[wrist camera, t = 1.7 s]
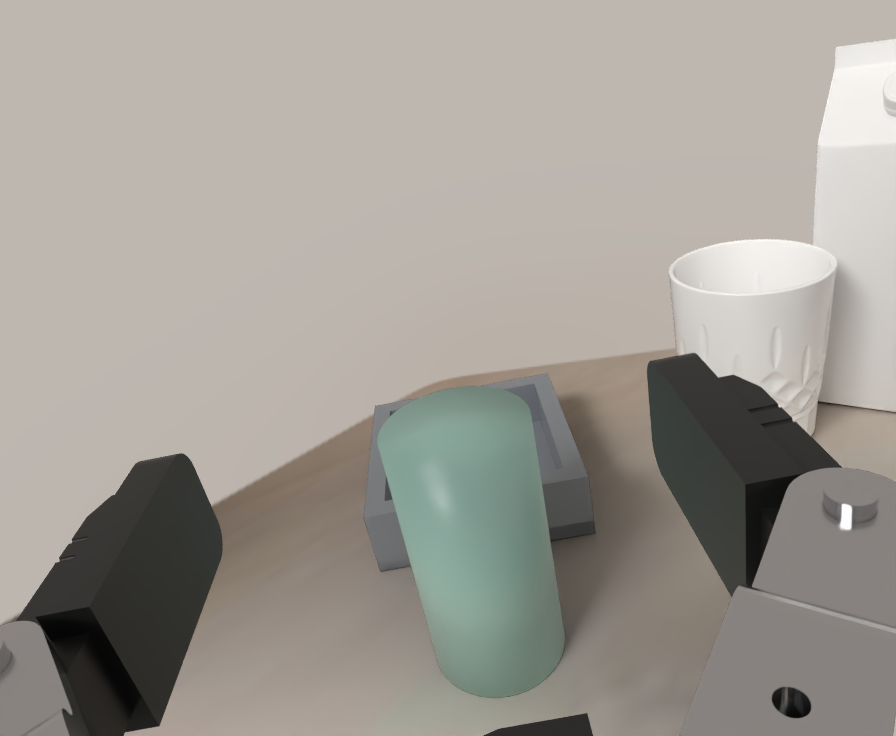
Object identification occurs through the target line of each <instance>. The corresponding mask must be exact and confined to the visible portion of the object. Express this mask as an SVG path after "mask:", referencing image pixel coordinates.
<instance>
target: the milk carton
mask: <svg viewBox="0 0 896 736" xmlns="http://www.w3.org/2000/svg"><path fill="white" fill-rule="evenodd" d="M813 245H815V246H818V247H821V248H823V249H825V250H827V251H829V252H830V253H831V254H833V255H834V257H835V258H836V260H837V270H836V278H835V286H834V294H833V302H832V311H831V320H830V328H829V337H828V345H827V352H826V358H825V362H824V366H823V380H822V385H821V389H820V393H819V396H818V401H821V402H828V403H835V404H842V405H849V406H856V407H863V408H870V409H877V410H885V411H892V412H896V39H891V40H884V41H876V42H869V43H862V44H854V45H846V46H839V47H837V48H836V53H835V70H834V74H833V79H832V83H831V87H830V92H829V96H828V101H827V105H826V109H825V113H824V118H823V122H822V126H821V131H820V135H819V140H818V151H817V171H816V191H815V211H814V231H813Z"/></svg>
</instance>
